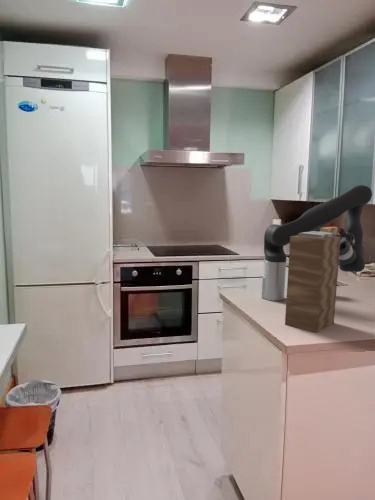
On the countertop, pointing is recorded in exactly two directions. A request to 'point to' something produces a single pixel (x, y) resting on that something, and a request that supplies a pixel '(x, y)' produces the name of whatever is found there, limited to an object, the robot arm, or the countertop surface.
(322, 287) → the plinth
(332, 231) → the rectangular straight-edged part
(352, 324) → the countertop surface
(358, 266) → the robot arm
